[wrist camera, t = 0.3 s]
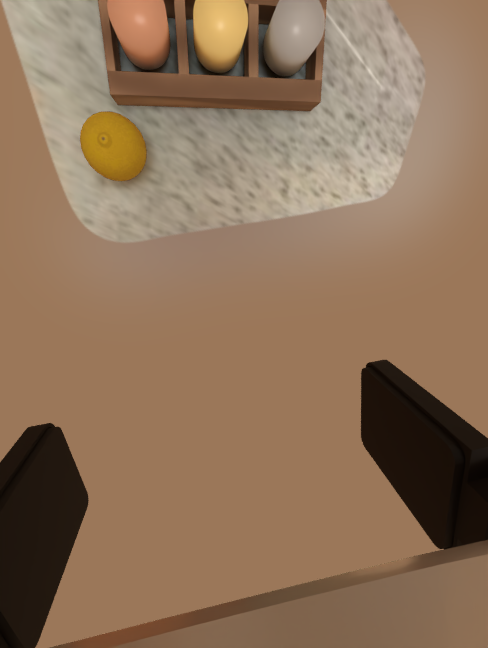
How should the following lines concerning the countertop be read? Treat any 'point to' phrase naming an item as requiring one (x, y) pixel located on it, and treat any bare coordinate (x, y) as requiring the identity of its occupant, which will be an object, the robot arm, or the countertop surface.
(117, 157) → the lemon
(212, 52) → the yellow short cylinder
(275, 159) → the countertop surface
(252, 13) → the wooden compartment tray
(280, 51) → the grey short rounded cylinder
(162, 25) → the pink cylinder
